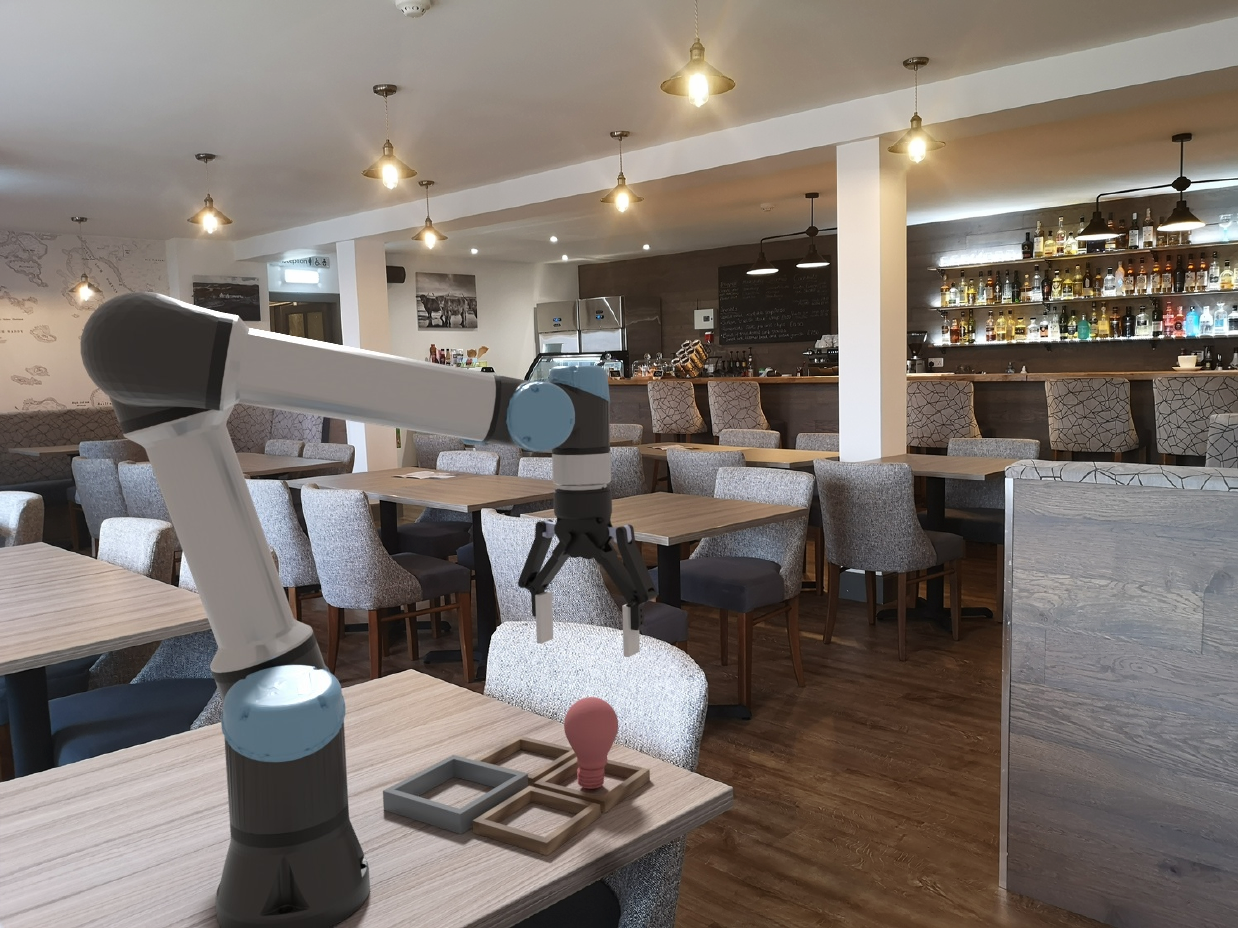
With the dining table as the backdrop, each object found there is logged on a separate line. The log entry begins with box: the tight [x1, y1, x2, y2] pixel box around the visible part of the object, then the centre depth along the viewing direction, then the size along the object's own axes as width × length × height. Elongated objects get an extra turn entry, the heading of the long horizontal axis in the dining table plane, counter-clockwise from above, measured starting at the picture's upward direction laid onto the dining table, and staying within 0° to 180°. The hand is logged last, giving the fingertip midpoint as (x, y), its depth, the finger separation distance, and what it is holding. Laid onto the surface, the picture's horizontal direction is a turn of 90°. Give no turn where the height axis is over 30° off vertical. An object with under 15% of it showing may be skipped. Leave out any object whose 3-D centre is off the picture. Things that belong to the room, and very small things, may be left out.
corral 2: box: [473, 735, 577, 787], centre depth 130 cm, size 11×11×2 cm
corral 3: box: [472, 786, 602, 856], centre depth 112 cm, size 11×11×2 cm
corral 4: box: [534, 757, 651, 814], centre depth 123 cm, size 11×11×2 cm
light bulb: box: [563, 696, 619, 790], centre depth 122 cm, size 7×7×12 cm
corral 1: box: [382, 754, 528, 835], centre depth 119 cm, size 13×13×2 cm
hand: (587, 647), depth 121 cm, fingers open, 13 cm apart
